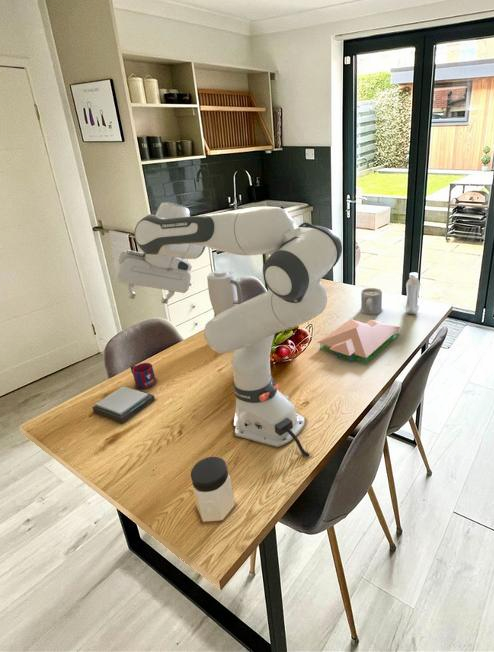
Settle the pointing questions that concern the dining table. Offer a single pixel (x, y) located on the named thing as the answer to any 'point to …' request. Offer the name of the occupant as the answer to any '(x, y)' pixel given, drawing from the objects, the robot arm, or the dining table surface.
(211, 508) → the jar
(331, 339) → the house
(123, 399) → the scale
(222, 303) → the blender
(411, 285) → the plastic bottle
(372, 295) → the coffee mug
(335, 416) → the dining table surface
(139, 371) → the cup
